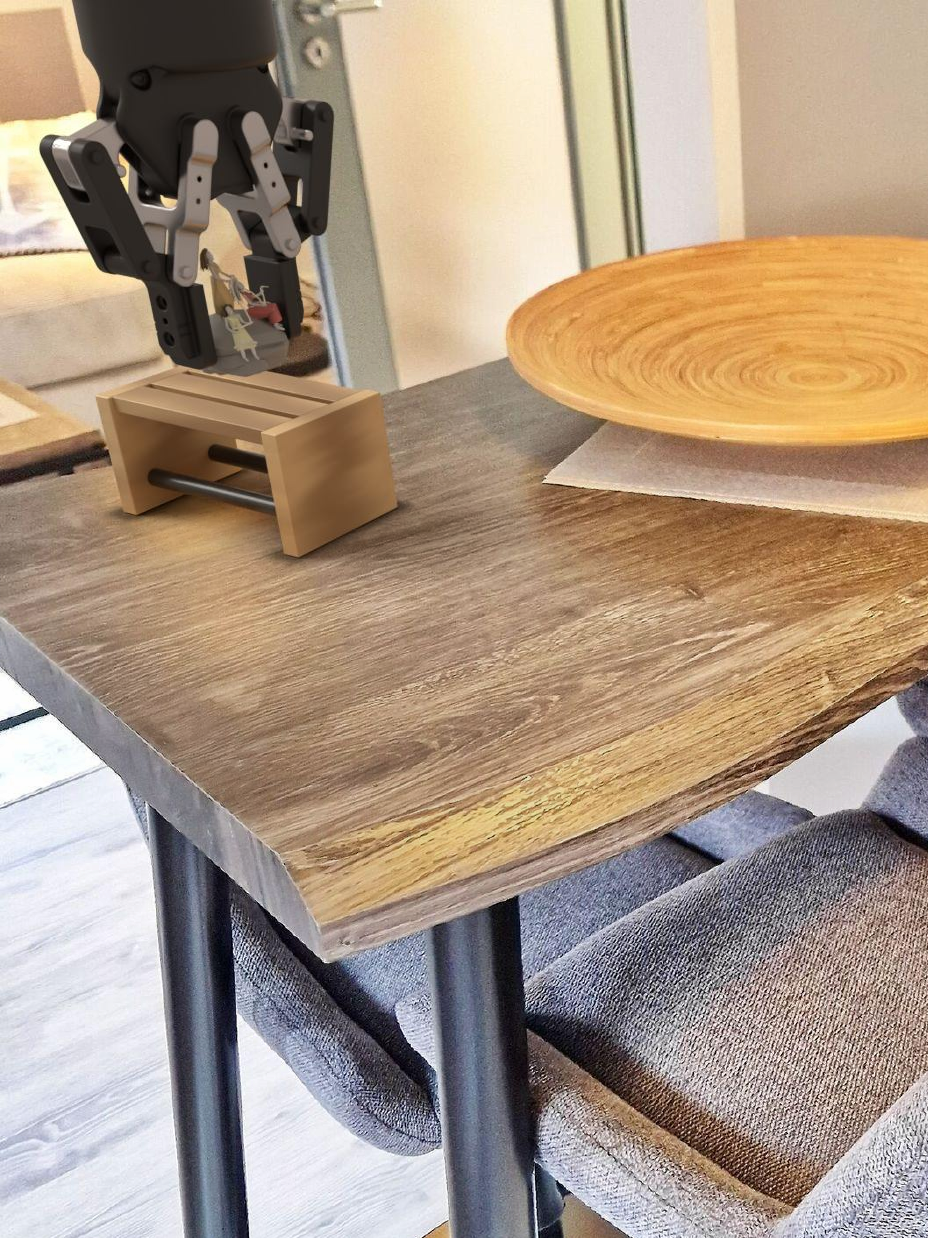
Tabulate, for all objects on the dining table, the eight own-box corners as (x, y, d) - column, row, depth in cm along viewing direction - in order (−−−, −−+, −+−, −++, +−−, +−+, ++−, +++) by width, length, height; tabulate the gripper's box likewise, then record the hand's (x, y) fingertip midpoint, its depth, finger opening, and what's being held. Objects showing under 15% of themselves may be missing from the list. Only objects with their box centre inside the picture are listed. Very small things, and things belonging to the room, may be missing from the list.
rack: (298, 557, 93) (275, 435, 89) (123, 512, 98) (94, 395, 94) (397, 507, 100) (380, 392, 96) (229, 467, 105) (206, 356, 101)
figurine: (179, 368, 70) (152, 238, 67) (276, 354, 72) (254, 228, 69) (209, 401, 66) (182, 265, 63) (310, 385, 68) (289, 253, 66)
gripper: (232, -74, 67) (293, 302, 76) (-68, -63, 56) (43, 379, 64) (361, -64, 64) (409, 326, 73) (73, -49, 53) (170, 410, 62)
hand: (237, 349), depth 68 cm, fingers closed on figurine, 4 cm apart
